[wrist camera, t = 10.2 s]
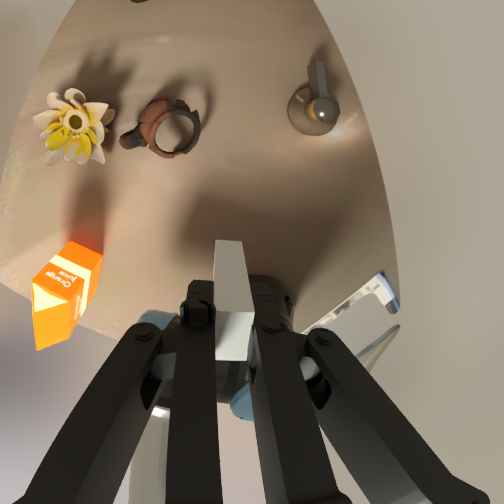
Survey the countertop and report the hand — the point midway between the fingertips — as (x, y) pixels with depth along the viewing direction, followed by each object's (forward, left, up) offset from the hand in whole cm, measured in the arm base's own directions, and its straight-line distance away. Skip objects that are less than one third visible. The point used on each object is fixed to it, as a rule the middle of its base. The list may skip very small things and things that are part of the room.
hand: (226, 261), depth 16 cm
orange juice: (-20, +25, -29) cm, 43 cm away
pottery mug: (+7, +11, -29) cm, 31 cm away
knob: (+16, -11, -27) cm, 33 cm away
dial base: (+14, -12, -28) cm, 34 cm away
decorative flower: (+6, +26, -29) cm, 39 cm away
